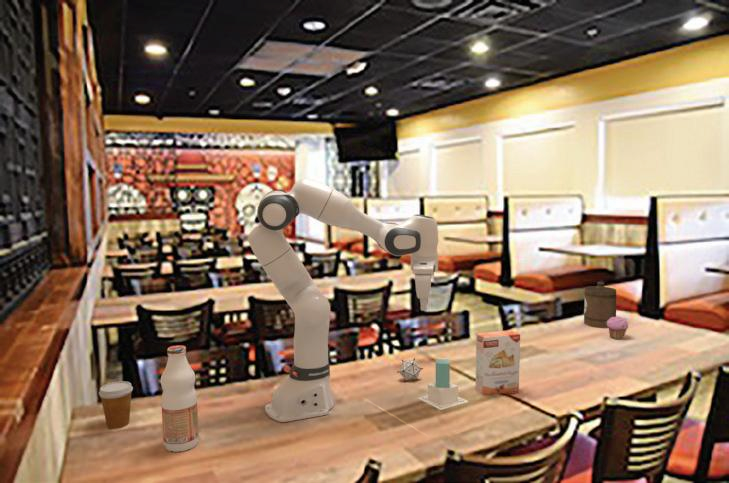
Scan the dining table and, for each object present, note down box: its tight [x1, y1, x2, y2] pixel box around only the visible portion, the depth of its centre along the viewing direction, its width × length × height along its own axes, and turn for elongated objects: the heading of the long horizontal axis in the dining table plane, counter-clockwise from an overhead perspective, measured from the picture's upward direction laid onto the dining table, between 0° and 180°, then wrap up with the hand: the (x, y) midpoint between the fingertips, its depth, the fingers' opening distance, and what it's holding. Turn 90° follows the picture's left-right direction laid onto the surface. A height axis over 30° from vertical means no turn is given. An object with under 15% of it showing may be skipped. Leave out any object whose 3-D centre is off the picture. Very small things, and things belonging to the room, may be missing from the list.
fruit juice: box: [160, 344, 200, 453], centre depth 152 cm, size 9×9×28 cm
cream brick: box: [427, 381, 459, 405], centre depth 180 cm, size 7×7×5 cm
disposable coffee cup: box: [98, 381, 134, 429], centre depth 167 cm, size 10×10×12 cm
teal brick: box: [435, 358, 451, 388], centre depth 179 cm, size 4×4×8 cm
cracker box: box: [475, 329, 521, 396], centre depth 187 cm, size 14×6×21 cm, turn 105°
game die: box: [396, 357, 424, 383], centre depth 200 cm, size 9×8×10 cm
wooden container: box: [583, 280, 617, 329], centre depth 274 cm, size 15×15×22 cm
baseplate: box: [417, 394, 470, 411], centre depth 180 cm, size 12×12×1 cm
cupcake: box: [607, 316, 629, 340], centre depth 250 cm, size 9×9×10 cm
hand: (424, 306), depth 177 cm, fingers open, 8 cm apart
